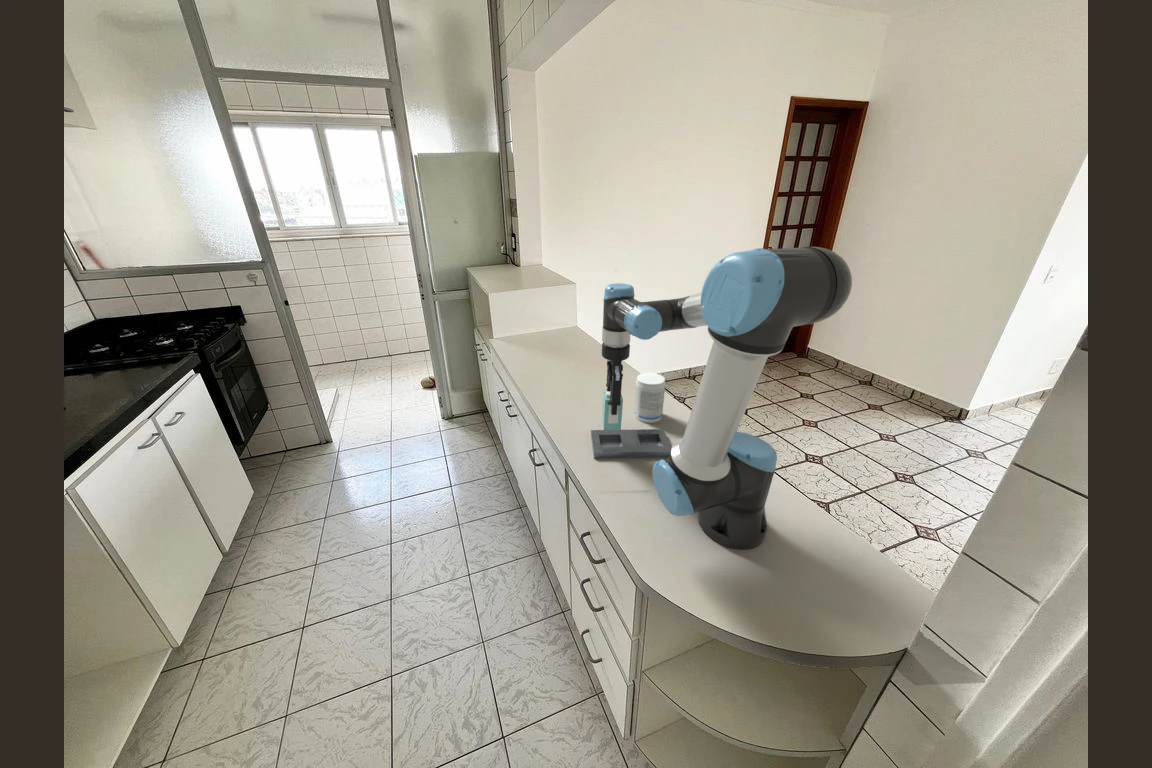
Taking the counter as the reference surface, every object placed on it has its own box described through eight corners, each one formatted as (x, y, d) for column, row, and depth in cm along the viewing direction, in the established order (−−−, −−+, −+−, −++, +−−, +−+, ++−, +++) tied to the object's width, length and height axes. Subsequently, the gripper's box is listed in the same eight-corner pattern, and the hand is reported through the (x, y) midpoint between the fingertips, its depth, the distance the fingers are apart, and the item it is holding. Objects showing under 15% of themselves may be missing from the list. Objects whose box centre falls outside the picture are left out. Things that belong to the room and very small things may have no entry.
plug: (620, 429, 119) (623, 397, 114) (603, 430, 119) (605, 397, 114) (618, 420, 124) (620, 388, 119) (602, 421, 124) (603, 389, 119)
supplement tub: (667, 419, 140) (672, 380, 134) (646, 427, 135) (650, 387, 129) (648, 407, 147) (651, 370, 141) (627, 414, 143) (630, 376, 136)
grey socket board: (672, 458, 120) (673, 451, 119) (593, 459, 119) (593, 452, 118) (662, 435, 131) (663, 429, 130) (590, 436, 130) (590, 430, 129)
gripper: (635, 355, 102) (629, 434, 112) (625, 331, 118) (620, 402, 128) (605, 355, 102) (601, 434, 112) (599, 331, 118) (596, 402, 128)
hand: (611, 417), depth 120 cm, fingers closed on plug, 5 cm apart
